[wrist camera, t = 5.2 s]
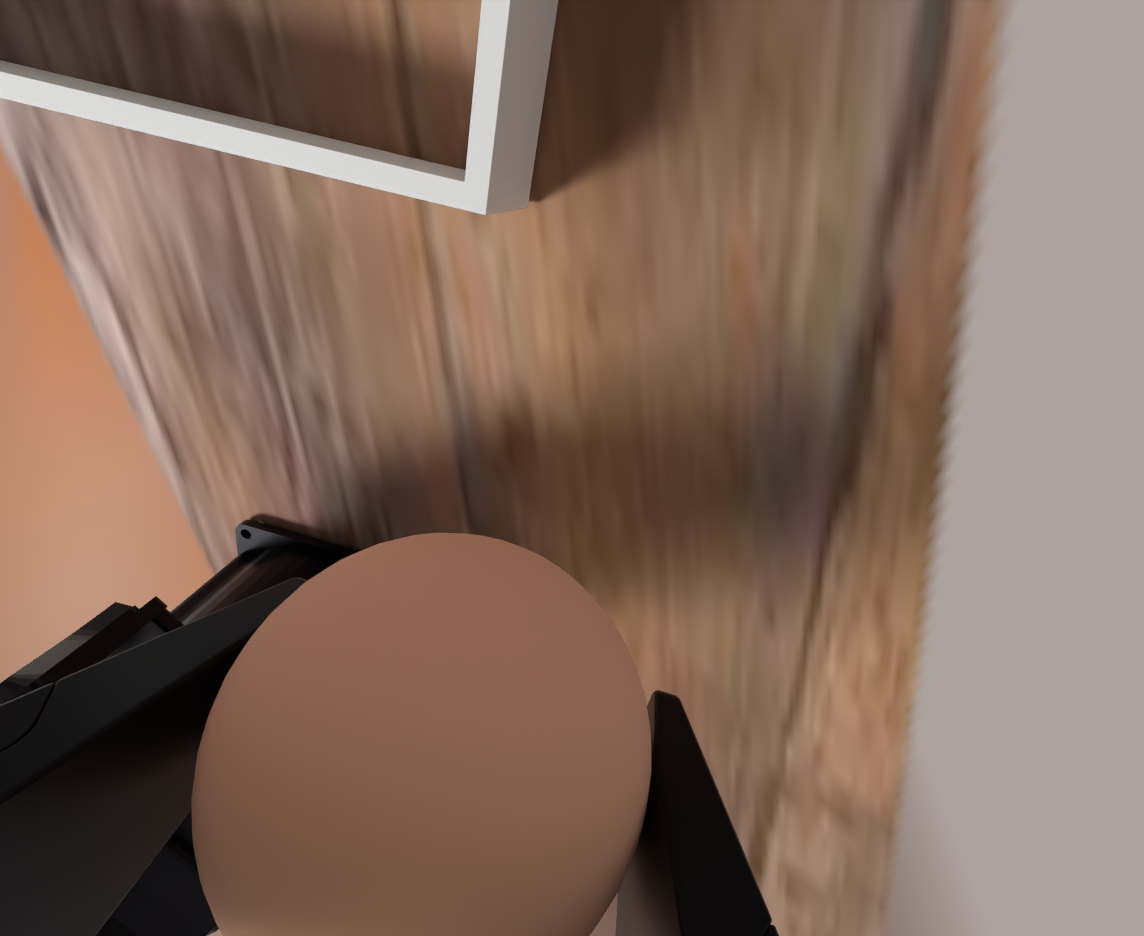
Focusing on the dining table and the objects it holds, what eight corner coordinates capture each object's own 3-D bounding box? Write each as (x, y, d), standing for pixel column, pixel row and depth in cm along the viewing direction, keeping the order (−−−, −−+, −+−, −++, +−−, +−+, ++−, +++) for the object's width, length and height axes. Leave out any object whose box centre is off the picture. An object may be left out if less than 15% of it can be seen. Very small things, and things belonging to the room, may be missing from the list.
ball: (351, 664, 12) (101, 1021, 7) (360, 422, 10) (-47, 722, 4) (614, 748, 12) (555, 1190, 7) (708, 522, 9) (728, 986, 4)
